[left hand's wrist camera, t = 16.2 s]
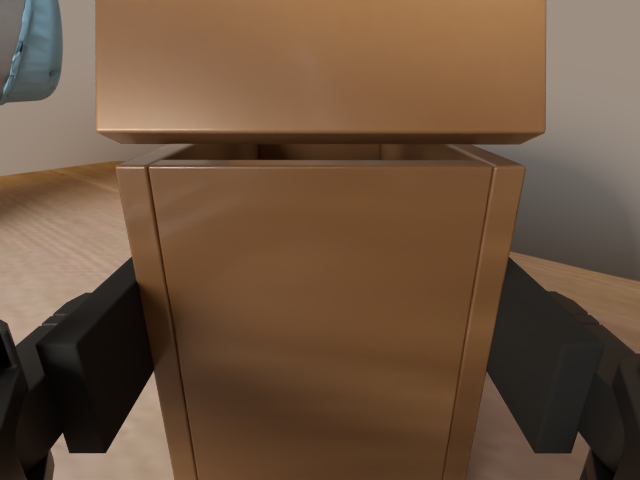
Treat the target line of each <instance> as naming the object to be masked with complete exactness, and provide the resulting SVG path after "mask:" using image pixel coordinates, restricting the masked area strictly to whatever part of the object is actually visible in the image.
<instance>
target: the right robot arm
mask: <svg viewBox="0 0 640 480" xmlns="http://www.w3.org/2000/svg"><path fill="white" fill-rule="evenodd" d="M62 55H63V38H62V24H61V15H60V8H59V3H58V0H0V105H3V104H5V103H8V102H23V101H38V100H43V99H45V98H47V97H49V96H50V95H51V94H52V93H53V92H54V91H55V89H56V87H57V85H58V82H59V79H60V74H61V67H62Z"/></svg>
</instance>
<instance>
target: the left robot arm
mask: <svg viewBox="0 0 640 480" xmlns="http://www.w3.org/2000/svg"><path fill="white" fill-rule="evenodd" d="M153 371H154V369H153V364H152V359H151V353H150V348H149V343H148V338H147V332H146V327H145V322H144V317H143V311H142V306H141V301H140V296H139V291H138V285H137V280H136V275H135V270H134V264H133V259H132V257H131V258H130V259H129V260H128V261H126V262H125V263H124V264H123V265H122V266H121V267H120V268H119V269H118V270H117V271H115V272H114V273H113V274H112V275H111V276H110V277H109V278H108V279H107V280H106V281H104V282H103V283H102V284H101V285H100V286H99V287H98V288H97V289H96V290H94V291H93V292H92V293H84V294H82V295H81V296H79V297H77V298H75V299H73V300H71V301H69V302H67V303H66V304H64V305H63V306H62V307H61V308H60V309H59V310H57V311H56V312H55V313H54V314H53V316H50V317H49V318H48V319H47V320H46V321H45V322H43V323H42V326H39V327H38V328H36V329H35V330H34V331H33V332H32V333H31V334H29V335H28V336H27V337H26V338H25V339H24V340H22V341H21V342H20V343H19V344H18V345H16V346H15V344H14V341H13V338H12V335H11V333H10V330H9V327H8V324H7V323H6V322H4V321H2V320H0V480H52V479H53V472H54V460H53V456H52V453H51V450H50V449H51V447H52V446H53V445H54V443H55V442H56V441H57V439H58V438H59V437H60V435H61V434H62V433H63V434H64V438H65V441H66V444H67V447H68V450H69V453H106V452H107V450H108V448H109V447H110V445H111V443H112V441H113V440H114V438H115V436H116V435H117V433H118V431H119V429H120V428H121V426H122V424H123V423H124V421H125V419H126V417H127V416H128V414H129V412H130V411H131V409H132V407H133V405H134V404H135V402H136V400H137V399H138V397H139V395H140V393H141V392H142V390H143V388H144V387H145V385H146V383H147V381H148V380H149V378H150V376H151V375H152V373H153ZM487 372H488V374H489V376H490V377H491V379H492V381H493V382H494V384H495V386H496V388H497V389H498V391H499V393H500V394H501V396H502V398H503V400H504V401H505V403H506V405H507V406H508V408H509V410H510V412H511V413H512V415H513V417H514V418H515V420H516V422H517V424H518V425H519V427H520V429H521V430H522V432H523V434H524V436H525V437H526V439H527V441H528V442H529V444H530V446H531V448H532V449H533V451H534V453H571V452H572V449H573V445H574V442H575V439H576V436H577V433H578V431H579V433H580V434H581V435H582V437H583V438H584V439H585V441H586V442H587V443H588V445H589V446H590V450H589V453H588V456H587V459H586V462H585V465H584V468H583V471H582V473H581V476H580V479H579V480H640V354H636V353H635V352H633V351H632V350H631V349H630V348H629V347H628V346H626V345H625V344H624V343H623V342H622V341H620V340H619V339H618V338H617V337H616V336H615V335H613V334H612V333H611V332H610V331H609V330H608V329H606V328H605V327H604V326H603V325H599V322H598V321H597V320H596V319H595V318H593V317H592V316H591V315H588V313H587V312H586V311H585V310H584V309H583V308H582V307H580V306H579V305H578V304H577V303H576V302H574V301H573V300H571V299H569V298H567V297H565V296H563V295H561V294H559V293H557V292H547V291H546V290H545V289H544V288H543V287H542V286H540V285H539V284H538V283H537V282H536V281H535V280H534V279H533V278H532V277H530V276H529V275H528V274H527V273H526V272H525V271H524V270H523V269H522V268H521V267H519V266H518V265H517V264H516V263H515V262H514V261H513V260H512V259H511V258H510V257H509V258H508V263H507V268H506V273H505V278H504V283H503V288H502V293H501V298H500V303H499V309H498V314H497V319H496V324H495V329H494V334H493V340H492V345H491V350H490V355H489V360H488V365H487Z"/></svg>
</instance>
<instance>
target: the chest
mask: <svg viewBox="0 0 640 480" xmlns="http://www.w3.org/2000/svg"><path fill="white" fill-rule="evenodd" d="M115 170H116V175H117V181H118V186H119V191H120V196H121V202H122V207H123V212H124V217H125V222H126V228H127V233H128V238H129V243H130V249H131V254H132V259H133V264H134V270H135V275H136V280H137V285H138V291H139V296H140V301H141V306H142V311H143V317H144V322H145V327H146V332H147V338H148V343H149V348H150V353H151V359H152V364H153V369H154V374H155V380H156V385H157V390H158V395H159V400H160V406H161V411H162V416H163V421H164V427H165V432H166V437H167V442H168V448H169V453H170V458H171V463H172V469H173V474H174V479H175V480H465V478H466V473H467V468H468V463H469V458H470V452H471V447H472V442H473V437H474V432H475V427H476V422H477V417H478V412H479V406H480V401H481V396H482V391H483V386H484V381H485V376H486V371H487V365H488V360H489V355H490V350H491V345H492V340H493V334H494V329H495V324H496V319H497V314H498V309H499V303H500V298H501V293H502V288H503V283H504V278H505V273H506V268H507V263H508V258H509V253H510V248H511V243H512V238H513V232H514V227H515V222H516V217H517V212H518V206H519V202H520V196H521V191H522V186H523V181H524V176H525V171H526V167H525V166H524V165H521V164H519V163H516V162H513V161H511V160H509V159H506V158H503V157H501V156H498V155H496V154H493V153H491V152H488V151H486V150H483V149H481V148H478V147H476V146H473V145H471V144H169V145H166V146H164V147H161V148H159V149H156V150H154V151H151V152H149V153H146V154H144V155H141V156H139V157H136V158H134V159H131V160H129V161H126V162H124V163H121V164H118V165H116V167H115Z"/></svg>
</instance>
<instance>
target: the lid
mask: <svg viewBox="0 0 640 480" xmlns="http://www.w3.org/2000/svg"><path fill="white" fill-rule="evenodd" d="M95 24H96V26H95V28H96V131H97V133H99V134H101V135H103V136H106V137H108V138H110V139H112V140H114V141H116V142H118V143H121V144H522V143H524V142H526V141H528V140H531V139H533V138H535V137H537V136H539V135H541V134H544V133H545V129H546V126H545V125H546V0H95Z"/></svg>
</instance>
